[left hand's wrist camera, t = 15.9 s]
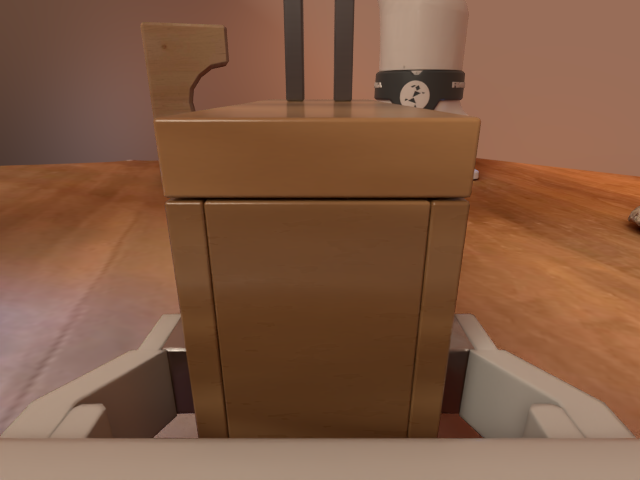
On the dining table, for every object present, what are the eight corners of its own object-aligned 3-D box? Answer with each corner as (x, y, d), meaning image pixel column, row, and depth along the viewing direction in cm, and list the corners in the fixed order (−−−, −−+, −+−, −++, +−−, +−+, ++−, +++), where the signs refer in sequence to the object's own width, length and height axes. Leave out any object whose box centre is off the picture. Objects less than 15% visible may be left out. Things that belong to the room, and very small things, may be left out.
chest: (276, 309, 23) (268, 127, 19) (362, 309, 23) (370, 127, 19) (219, 591, 10) (162, 202, 6) (417, 591, 10) (471, 201, 6)
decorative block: (235, 165, 66) (225, 30, 59) (237, 171, 60) (226, 24, 53) (165, 168, 63) (146, 27, 56) (160, 174, 58) (138, 21, 51)
